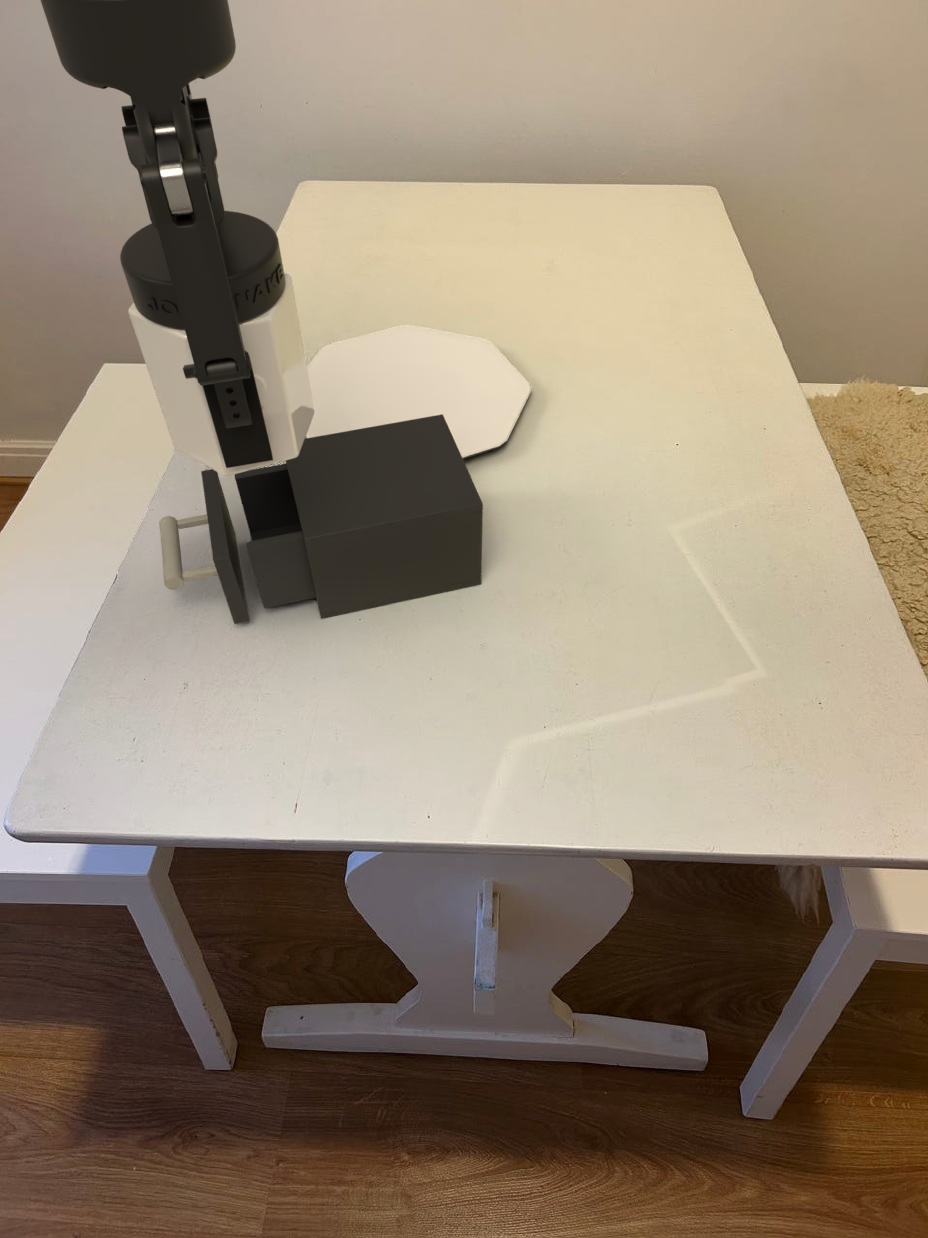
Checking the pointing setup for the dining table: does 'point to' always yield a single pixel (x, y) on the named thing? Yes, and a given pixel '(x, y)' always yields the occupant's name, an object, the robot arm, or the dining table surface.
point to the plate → (418, 385)
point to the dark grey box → (387, 515)
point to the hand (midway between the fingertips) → (241, 413)
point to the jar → (263, 328)
